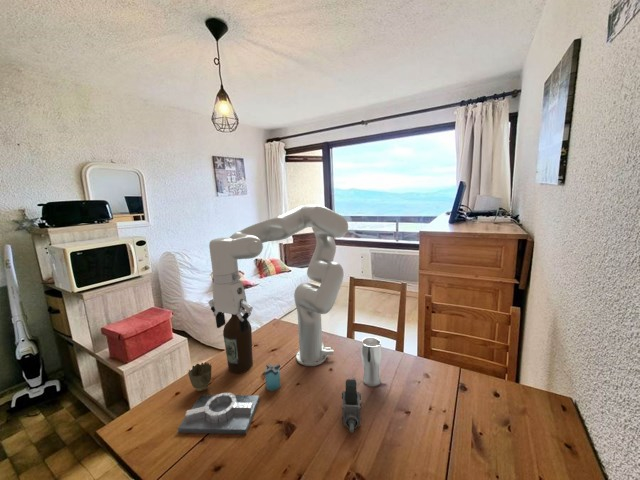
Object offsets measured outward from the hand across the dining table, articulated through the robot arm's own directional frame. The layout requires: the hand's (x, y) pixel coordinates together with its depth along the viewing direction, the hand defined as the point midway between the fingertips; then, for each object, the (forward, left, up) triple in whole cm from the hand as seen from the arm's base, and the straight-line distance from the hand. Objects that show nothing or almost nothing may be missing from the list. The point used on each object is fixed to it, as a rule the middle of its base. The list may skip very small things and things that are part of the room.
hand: (232, 328), depth 84 cm
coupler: (-10, -5, -25) cm, 27 cm away
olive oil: (+6, -16, -25) cm, 30 cm away
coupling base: (+3, +8, -25) cm, 26 cm away
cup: (+15, -3, -25) cm, 29 cm away
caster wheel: (-37, +8, -25) cm, 46 cm away
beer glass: (-45, -8, -25) cm, 52 cm away
